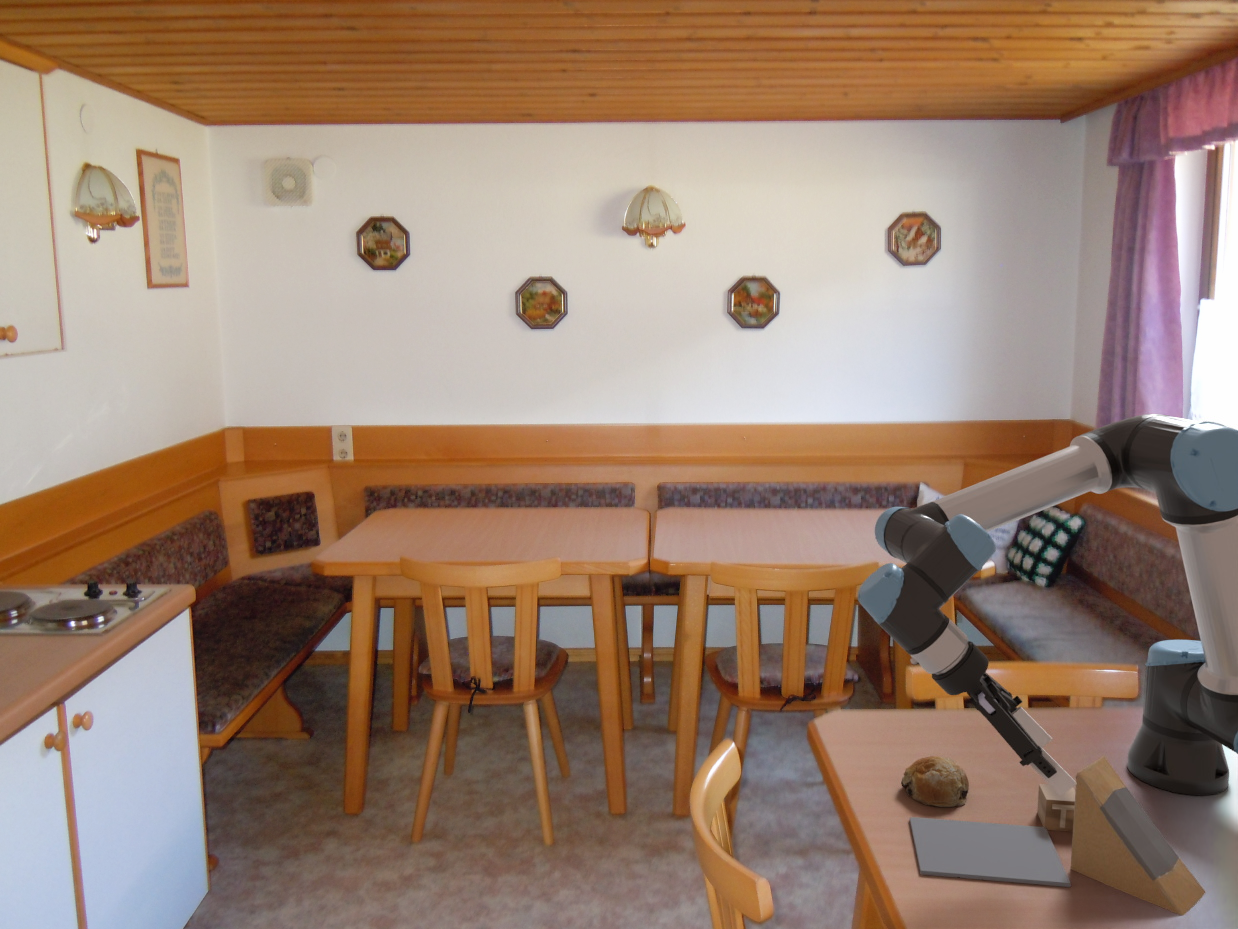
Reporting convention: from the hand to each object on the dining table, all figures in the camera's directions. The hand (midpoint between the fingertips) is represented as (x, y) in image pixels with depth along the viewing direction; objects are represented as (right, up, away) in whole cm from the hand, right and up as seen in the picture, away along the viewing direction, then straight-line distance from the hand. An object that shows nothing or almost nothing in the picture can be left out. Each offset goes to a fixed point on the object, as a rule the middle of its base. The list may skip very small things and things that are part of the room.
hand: (1056, 765), depth 144 cm
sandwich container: (+11, -16, 0) cm, 20 cm away
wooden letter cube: (+7, -13, +15) cm, 21 cm away
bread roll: (-10, -12, +25) cm, 29 cm away
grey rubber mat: (-7, -15, +7) cm, 18 cm away
